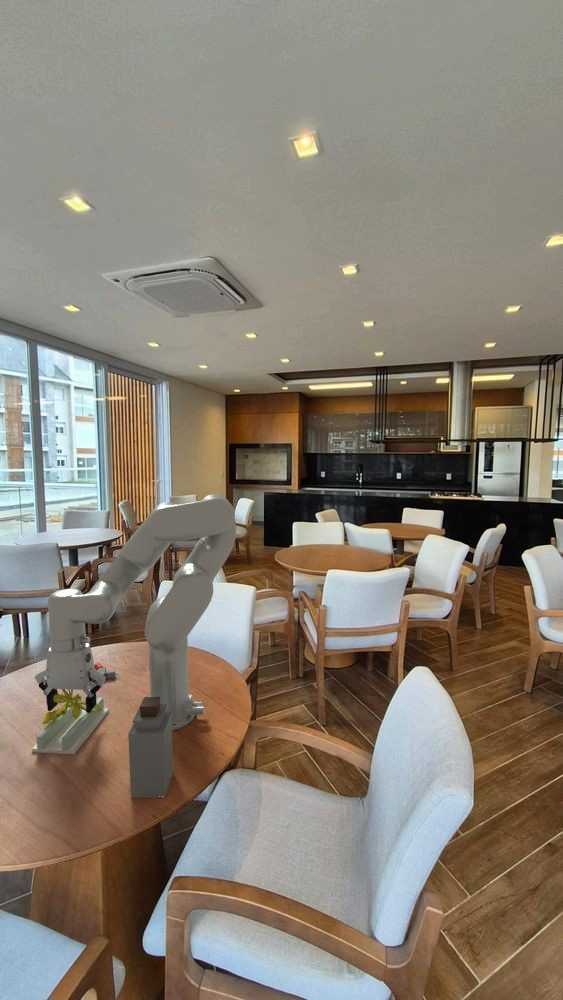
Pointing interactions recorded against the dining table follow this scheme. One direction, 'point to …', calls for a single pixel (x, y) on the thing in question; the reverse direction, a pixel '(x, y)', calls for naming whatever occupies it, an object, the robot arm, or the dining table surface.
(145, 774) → the perfume bottle
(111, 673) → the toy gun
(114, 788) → the dining table surface
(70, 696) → the decorative insect
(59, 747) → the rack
